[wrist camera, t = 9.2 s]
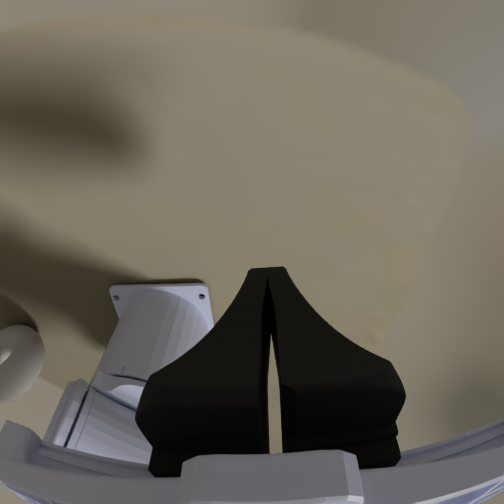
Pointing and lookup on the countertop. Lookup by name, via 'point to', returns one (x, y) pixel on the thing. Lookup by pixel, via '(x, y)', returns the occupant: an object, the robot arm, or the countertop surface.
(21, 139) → the countertop surface
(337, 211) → the countertop surface
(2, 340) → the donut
